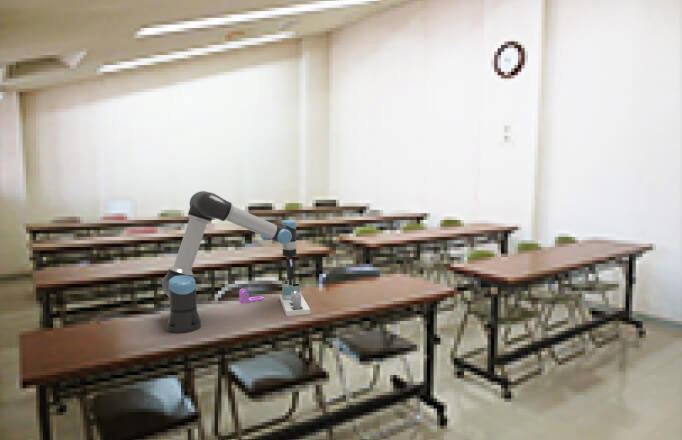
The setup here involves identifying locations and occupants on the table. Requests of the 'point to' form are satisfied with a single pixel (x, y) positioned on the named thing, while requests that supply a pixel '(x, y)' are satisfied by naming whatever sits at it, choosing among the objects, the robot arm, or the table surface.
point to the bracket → (245, 297)
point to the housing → (295, 305)
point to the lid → (289, 291)
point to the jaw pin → (292, 296)
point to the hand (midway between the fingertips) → (290, 290)
